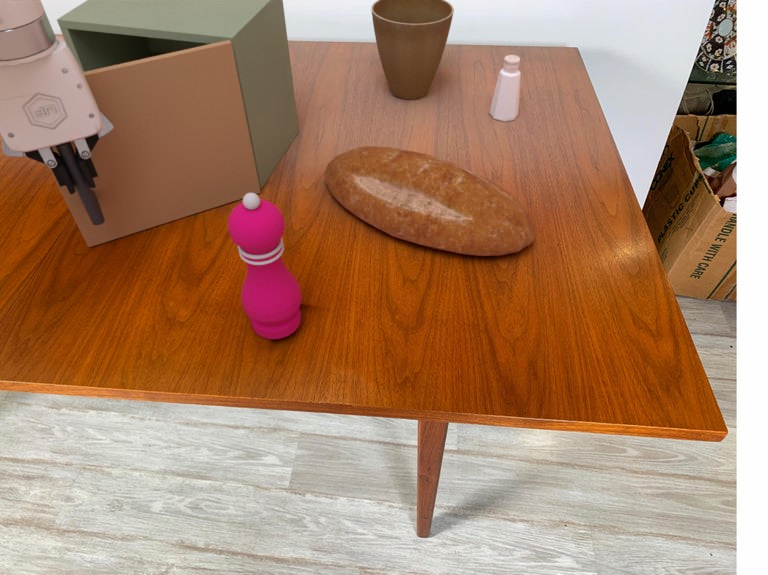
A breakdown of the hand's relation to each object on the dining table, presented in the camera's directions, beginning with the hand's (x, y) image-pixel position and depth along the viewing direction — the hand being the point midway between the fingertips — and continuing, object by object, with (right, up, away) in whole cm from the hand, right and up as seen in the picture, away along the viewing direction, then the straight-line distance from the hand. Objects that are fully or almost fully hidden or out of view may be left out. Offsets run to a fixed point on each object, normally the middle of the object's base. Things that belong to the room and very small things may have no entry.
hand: (81, 184), depth 72 cm
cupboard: (+7, +12, +30) cm, 33 cm away
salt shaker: (+60, +20, +38) cm, 74 cm away
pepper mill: (+24, -17, +2) cm, 30 cm away
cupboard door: (+7, -4, +15) cm, 17 cm away
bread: (+43, -1, +18) cm, 47 cm away
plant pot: (+43, +26, +44) cm, 67 cm away
